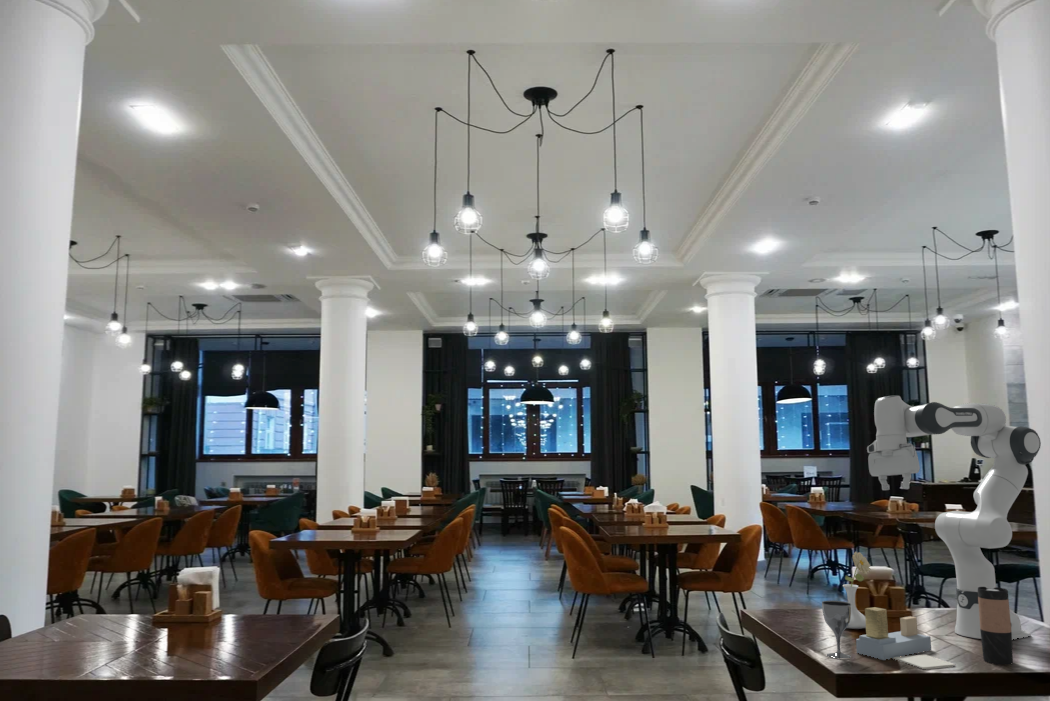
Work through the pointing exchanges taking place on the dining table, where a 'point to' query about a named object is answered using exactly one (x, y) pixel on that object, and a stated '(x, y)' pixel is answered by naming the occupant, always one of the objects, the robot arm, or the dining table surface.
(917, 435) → the robot arm
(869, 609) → the yellow rectangular block
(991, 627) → the travel mug
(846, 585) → the flower in vase
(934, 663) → the felt mat
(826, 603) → the wine glass
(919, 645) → the grey stepped base plate
